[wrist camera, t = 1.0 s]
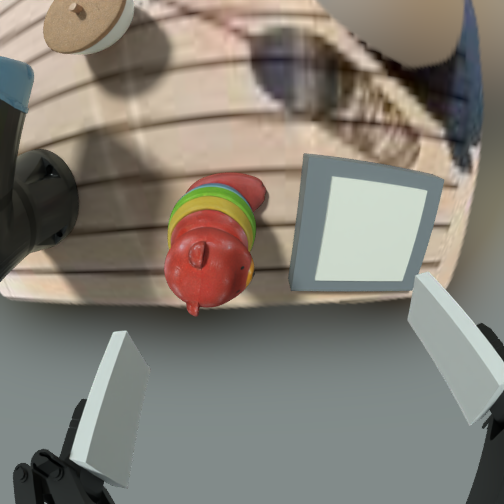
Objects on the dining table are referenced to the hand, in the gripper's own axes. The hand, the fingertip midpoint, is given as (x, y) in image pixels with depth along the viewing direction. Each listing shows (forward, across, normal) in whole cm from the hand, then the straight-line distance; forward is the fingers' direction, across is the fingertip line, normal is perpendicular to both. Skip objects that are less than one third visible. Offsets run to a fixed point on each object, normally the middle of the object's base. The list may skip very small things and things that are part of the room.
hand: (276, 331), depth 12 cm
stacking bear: (+26, -4, -3) cm, 27 cm away
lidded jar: (+27, -13, +26) cm, 40 cm away
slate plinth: (+26, +15, -9) cm, 31 cm away
